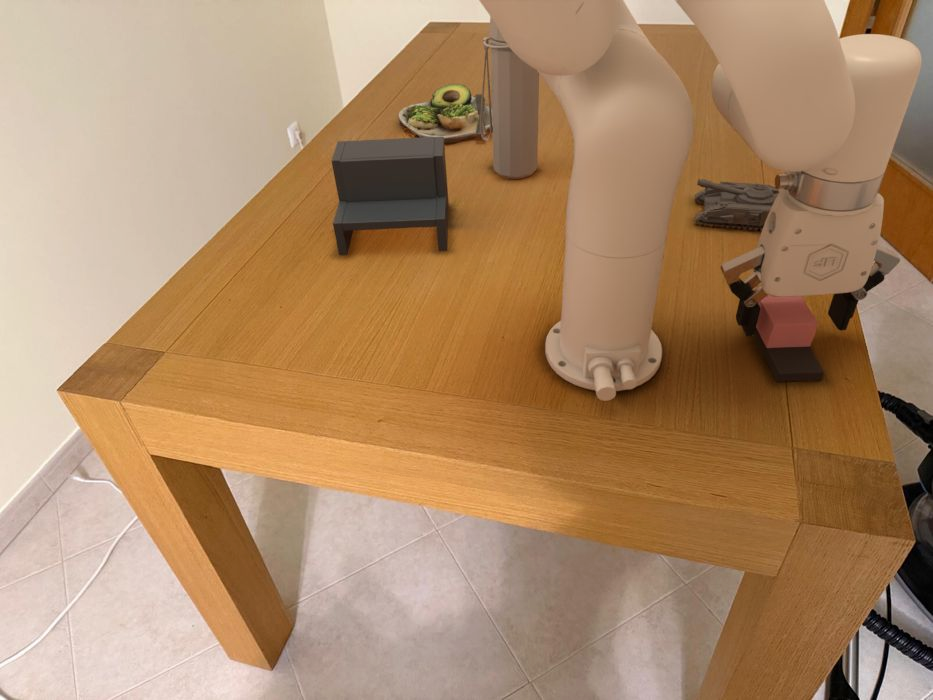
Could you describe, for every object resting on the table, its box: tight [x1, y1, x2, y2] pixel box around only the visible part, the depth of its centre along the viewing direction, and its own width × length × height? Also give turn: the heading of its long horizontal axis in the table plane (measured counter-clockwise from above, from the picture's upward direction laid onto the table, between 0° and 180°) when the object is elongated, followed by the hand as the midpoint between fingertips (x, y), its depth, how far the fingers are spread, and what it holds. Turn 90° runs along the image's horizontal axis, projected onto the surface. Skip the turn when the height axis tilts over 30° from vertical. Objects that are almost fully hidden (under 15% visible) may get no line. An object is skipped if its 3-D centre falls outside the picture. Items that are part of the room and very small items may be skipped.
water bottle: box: [480, 15, 540, 180], centre depth 101 cm, size 9×8×25 cm
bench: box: [331, 137, 450, 256], centre depth 93 cm, size 12×15×11 cm
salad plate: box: [397, 83, 493, 144], centre depth 122 cm, size 19×18×5 cm
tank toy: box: [694, 178, 780, 232], centre depth 94 cm, size 12×10×5 cm
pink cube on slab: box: [753, 295, 825, 383], centre depth 73 cm, size 9×5×4 cm, turn 0°
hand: (790, 325), depth 74 cm, fingers open, 9 cm apart
